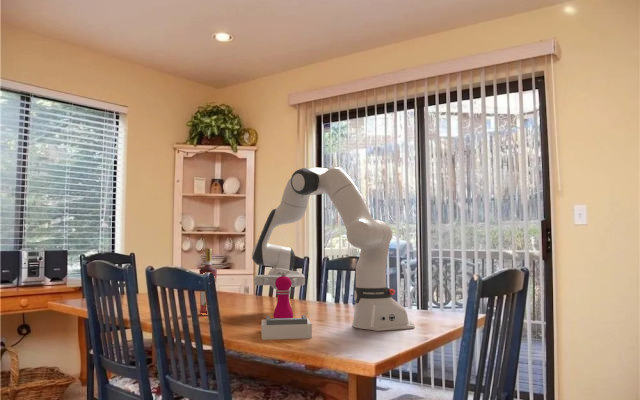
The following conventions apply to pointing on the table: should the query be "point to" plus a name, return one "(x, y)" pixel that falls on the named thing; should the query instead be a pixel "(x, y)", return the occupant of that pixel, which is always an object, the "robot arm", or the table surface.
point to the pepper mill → (283, 297)
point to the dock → (286, 328)
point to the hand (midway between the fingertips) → (280, 281)
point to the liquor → (207, 268)
